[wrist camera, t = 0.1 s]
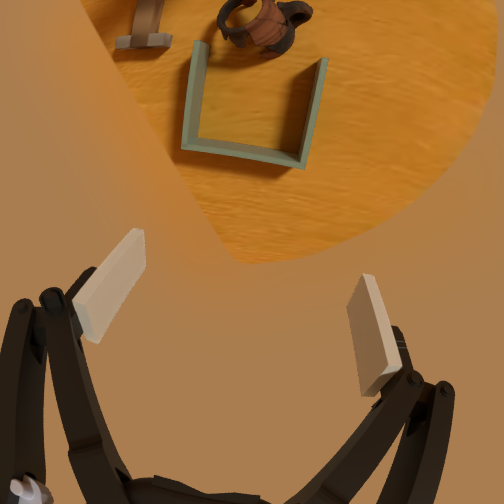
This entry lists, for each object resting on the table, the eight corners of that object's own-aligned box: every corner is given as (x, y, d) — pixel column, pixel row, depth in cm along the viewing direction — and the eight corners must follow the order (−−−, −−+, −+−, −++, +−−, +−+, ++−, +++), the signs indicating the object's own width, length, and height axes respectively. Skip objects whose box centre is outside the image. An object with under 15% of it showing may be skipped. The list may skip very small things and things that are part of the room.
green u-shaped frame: (204, 45, 31) (194, 40, 27) (323, 62, 31) (328, 58, 27) (192, 142, 40) (180, 149, 36) (302, 160, 40) (304, 169, 35)
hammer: (142, -32, 23) (134, -38, 21) (189, -38, 23) (183, -45, 21) (125, 49, 32) (115, 48, 29) (170, 47, 32) (163, 45, 29)
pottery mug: (251, 73, 34) (216, 50, 27) (238, 29, 33) (205, 5, 26) (331, 43, 28) (310, 9, 21) (309, -1, 27) (285, -34, 20)
